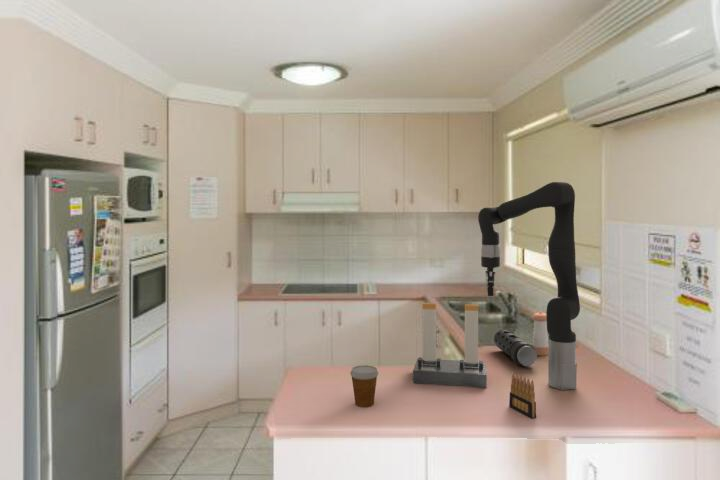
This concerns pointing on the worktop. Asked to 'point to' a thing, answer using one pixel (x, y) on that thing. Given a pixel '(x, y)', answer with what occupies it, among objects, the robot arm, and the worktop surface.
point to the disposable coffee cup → (364, 384)
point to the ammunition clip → (522, 396)
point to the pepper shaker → (540, 334)
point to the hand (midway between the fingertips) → (490, 294)
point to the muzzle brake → (515, 348)
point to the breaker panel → (450, 373)
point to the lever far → (429, 333)
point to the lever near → (471, 335)
